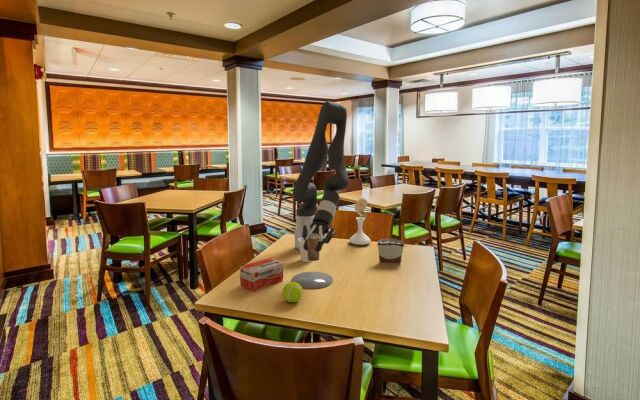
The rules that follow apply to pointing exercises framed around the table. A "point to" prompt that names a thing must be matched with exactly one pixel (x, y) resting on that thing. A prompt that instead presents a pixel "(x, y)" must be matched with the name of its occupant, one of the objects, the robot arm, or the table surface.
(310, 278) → the trivet
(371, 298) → the table surface
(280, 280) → the medicine box
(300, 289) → the tennis ball
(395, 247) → the food container
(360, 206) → the flower in vase
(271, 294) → the table surface
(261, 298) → the table surface
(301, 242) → the dixie cup
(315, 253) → the pepper mill
